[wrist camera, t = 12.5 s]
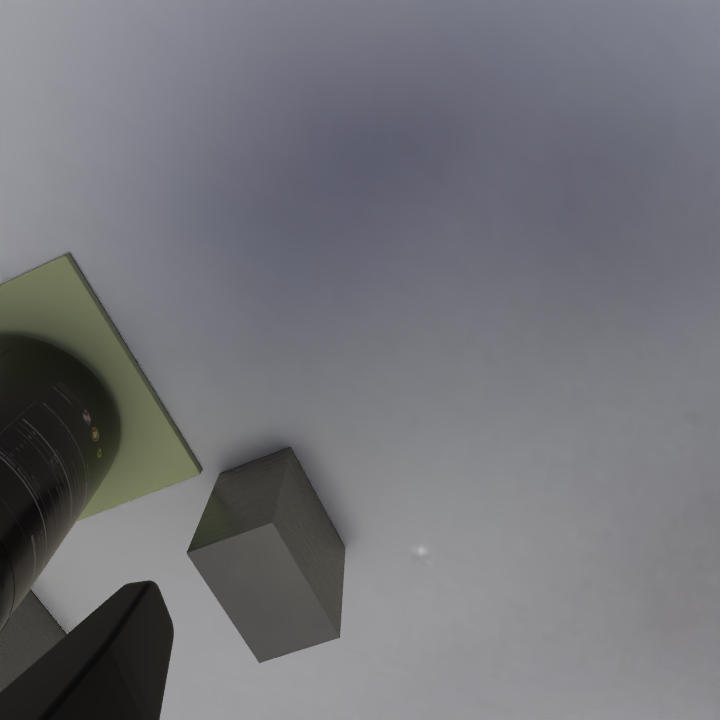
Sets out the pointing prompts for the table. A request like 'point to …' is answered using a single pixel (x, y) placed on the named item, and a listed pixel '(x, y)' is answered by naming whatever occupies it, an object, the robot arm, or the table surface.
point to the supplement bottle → (46, 456)
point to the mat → (101, 378)
